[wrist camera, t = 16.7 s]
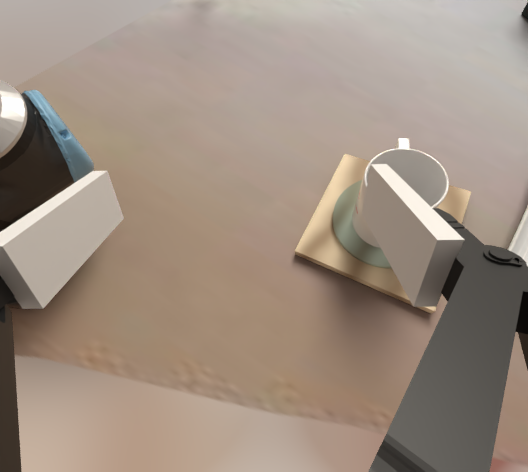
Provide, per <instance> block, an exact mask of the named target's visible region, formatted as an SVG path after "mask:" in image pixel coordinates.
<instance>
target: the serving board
mask: <svg viewBox="0 0 528 472" xmlns="http://www.w3.org/2000/svg"><path fill="white" fill-rule="evenodd" d="M369 162H370V161H367V160H364V159H360V158H357V157H354V156H350V155H347V154H344V156H343V158H342V160H341V162H340V164H339V166H338V168H337V170H336V172H335V174H334V176H333V178H332V180H331V182H330V184H329V185H328V187H327V189H326V191H325V193H324V195H323V197H322V199H321V201H320V203H319V205H318V207H317V209H316V211H315V213H314V215H313V217H312V218H311V220H310V222H309V224H308V226H307V228H306V230H305V232H304V234H303V236H302V238H301V240H300V242H299V244H298V246H297V248H296V250H295V254H296V255H298V256H300V257H303V258H305V259H307V260H309V261H312V262H314V263H316V264H319V265H321V266H323V267H325V268H328V269H330V270H332V271H334V272H337V273H339V274H341V275H344V276H346V277H348V278H350V279H353V280H355V281H357V282H360V283H362V284H364V285H366V286H369V287H371V288H373V289H376V290H378V291H380V292H382V293H385V294H387V295H389V296H392V297H394V298H396V299H398V300H401V301H403V302H405V303H408V304H410V305H412V303H411V301H410V300H409V298H408V296H407V294H406V292H405V291H404V289H403V287H402V285H401V283H400V282H399V280H398V278H397V276H396V274H395V273H394V271H393V269H392V267H391V265H390V264H389V262H388V260H387V258H386V256H385V255H384V253H383V251H382V249H381V248H377V247H374V246H372V245H370V244H368V243H366V242H365V241H363V240H362V239H361V238H360V237H359V236H358V234H357V233H356V231H355V229H354V227H353V224H352V213H353V210H354V206H355V203H356V200H357V196H358V193H359V190H360V186H361V183H362V179H363V176H364V173H365V170H366V167H367V165H368V164H369ZM470 194H471V192H470V191H467V190H464V189H460V188H457V187H454V186H450V185H449V188H448V192H447V195H446V197H445V198H444V200H443V201H442V202H441V203H440V205H439V206H438V207H437V208H439V209H441V210H443V211H445V212H447V213H449V214H451V215H452V216H453V217H454V218H455V219H456V220H457V221H458V223H461V224H462V221H463V217H464V214H465V211H466V207H467V204H468V201H469V198H470ZM412 306H413V305H412ZM417 308H419V309H421V310H424V311H426V312H428V313H433V312H435V310H436V307H417Z"/></svg>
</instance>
